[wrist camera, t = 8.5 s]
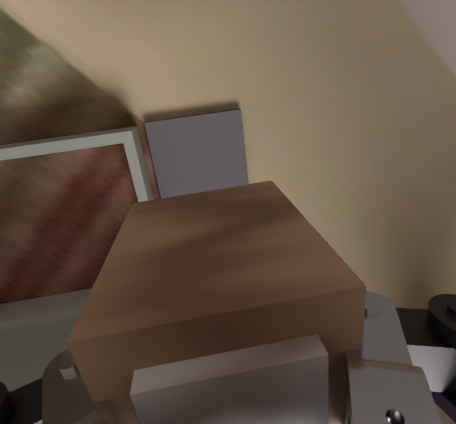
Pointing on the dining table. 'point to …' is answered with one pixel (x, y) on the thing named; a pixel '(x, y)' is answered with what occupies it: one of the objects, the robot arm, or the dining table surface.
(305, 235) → the module
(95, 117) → the dining table surface
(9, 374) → the case
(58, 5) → the dining table surface
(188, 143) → the mat
